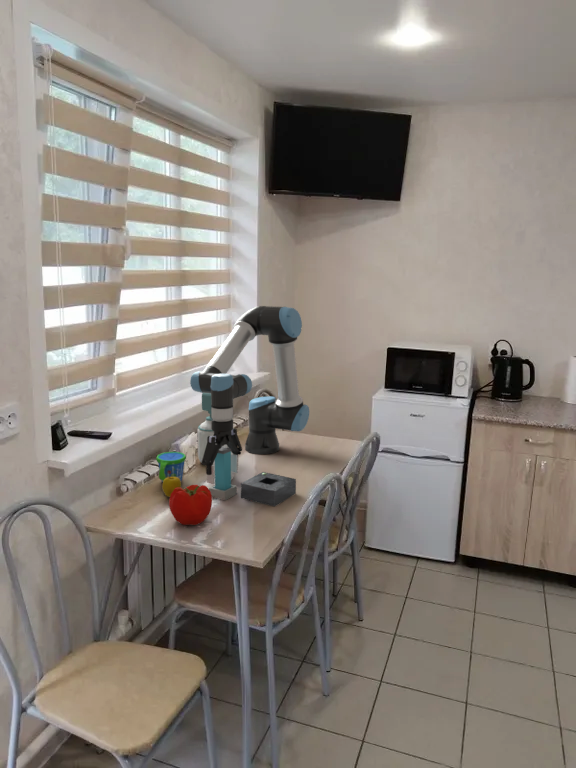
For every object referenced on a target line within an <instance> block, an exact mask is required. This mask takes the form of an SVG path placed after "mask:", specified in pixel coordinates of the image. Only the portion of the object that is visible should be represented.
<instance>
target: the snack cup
mask: <svg viewBox="0 0 576 768" xmlns="http://www.w3.org/2000/svg"><path fill="white" fill-rule="evenodd" d="M186 459H187V456H186V454H185V453H184V452H179V451H165V452H161V453H159V454H157V456H156V462H157V464H158V469H159V470H158V471H159V472H158V479H159V480H160V481H161V483H162V482H163V481H164V479H165V478H167V477H168V476H169V477H178V478H179V479H180V481H181V482H182V481H183V477H184V476H183V475H184V469H185V468H184V467H185V461H186Z"/></svg>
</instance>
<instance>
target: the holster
mask: <svg viewBox="0 0 576 768" xmlns="http://www.w3.org/2000/svg"><path fill="white" fill-rule="evenodd" d="M208 489H209V490H210V492H211V495H212V498H215V499H219V500H223V501H227V500H228V499H230V498H232V497H233V496H235V495H238V485H235V484H231V488H229V489H227V490H225V491H223V490H219V489H215V484H213V486H210V487H209V488H208Z"/></svg>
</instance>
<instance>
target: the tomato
mask: <svg viewBox="0 0 576 768" xmlns="http://www.w3.org/2000/svg"><path fill="white" fill-rule="evenodd" d="M168 501H169V503H168V506H169V511H170V512H171V515H172V517H173V518H174V519H175V521H176V522H178V523H179V524H180V525H183V526H189V525H192V526H197V525H200V524H201V523H203V522H204V521H205V520H206V519H207V518H208V517H209V515H210V513H211V511H212V506H213V497H212V495H211V492H210V490H209V488H208V486H206V485H204V484H202V485H201V484H200V485H199V484H191V485H188V486H186V487H183V486H182V487H181V488H180V487H178V488H175V489H174V490H173V492H172V493H171V496H170V497H169V499H168Z"/></svg>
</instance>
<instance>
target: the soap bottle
mask: <svg viewBox="0 0 576 768" xmlns="http://www.w3.org/2000/svg"><path fill="white" fill-rule="evenodd" d="M201 410H202V411H205V412H207V413H208V414H209V416H206V417H205V421H204V422H202V423H200V425H198V427H197V432H196V434H197V458H198V460H199V462H200V463H201V464H202V459H203V456H204V452H205V448H206V445H207V437H208V436H213V435H214V431H213V430H212V428H211V420H212V417H211V394H210V393H201ZM216 445H217V444H216ZM213 465H214V464H213Z"/></svg>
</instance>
